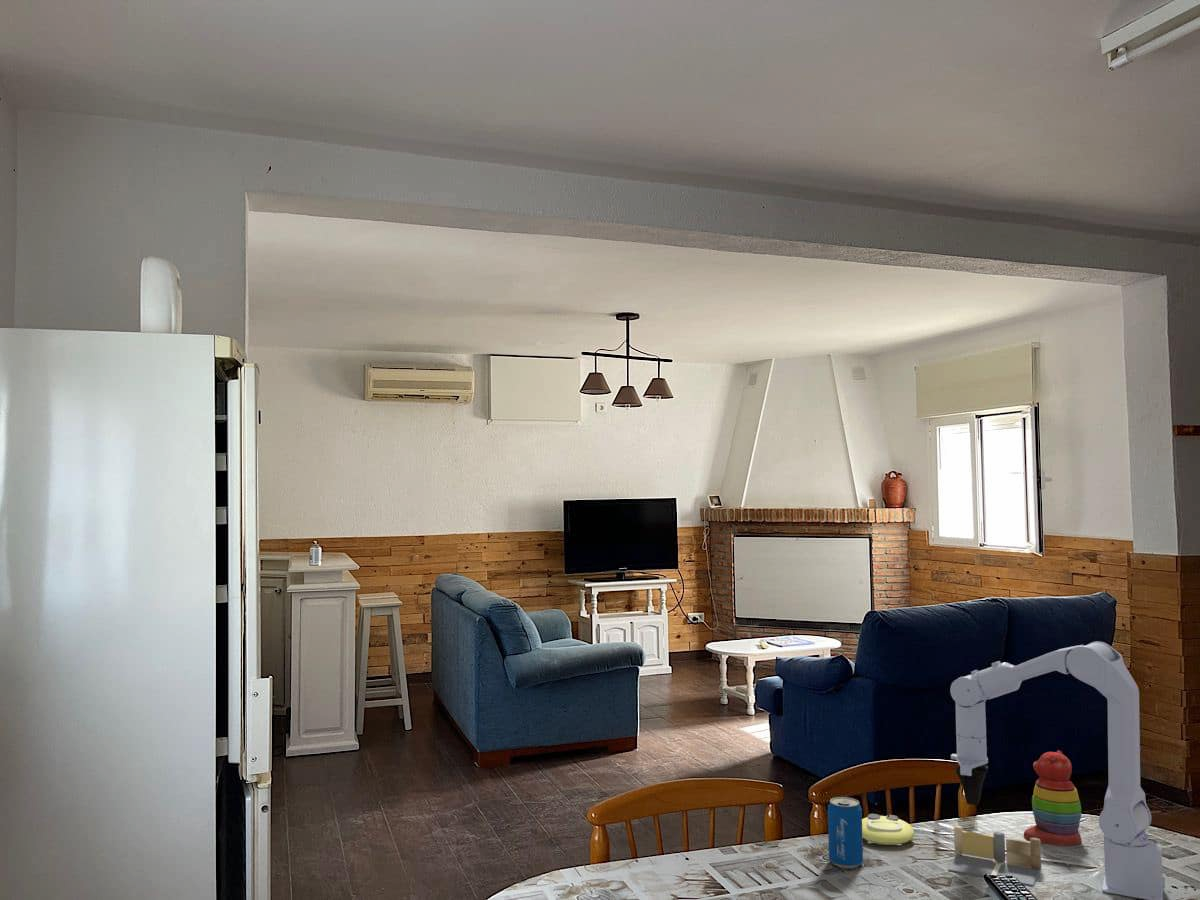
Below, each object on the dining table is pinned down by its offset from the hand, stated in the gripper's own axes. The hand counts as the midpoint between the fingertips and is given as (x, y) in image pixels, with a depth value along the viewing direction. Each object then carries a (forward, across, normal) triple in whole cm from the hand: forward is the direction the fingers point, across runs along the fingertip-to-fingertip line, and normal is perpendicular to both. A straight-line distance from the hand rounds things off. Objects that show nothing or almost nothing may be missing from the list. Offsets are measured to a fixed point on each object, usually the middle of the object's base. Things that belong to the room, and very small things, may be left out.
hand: (973, 803), depth 194 cm
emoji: (+10, +2, -18) cm, 20 cm away
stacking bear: (+10, -16, +14) cm, 23 cm away
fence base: (+9, +5, +10) cm, 14 cm away
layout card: (+9, +8, +5) cm, 13 cm away
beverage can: (+10, +20, -20) cm, 30 cm away
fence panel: (+9, +5, +2) cm, 10 cm away
